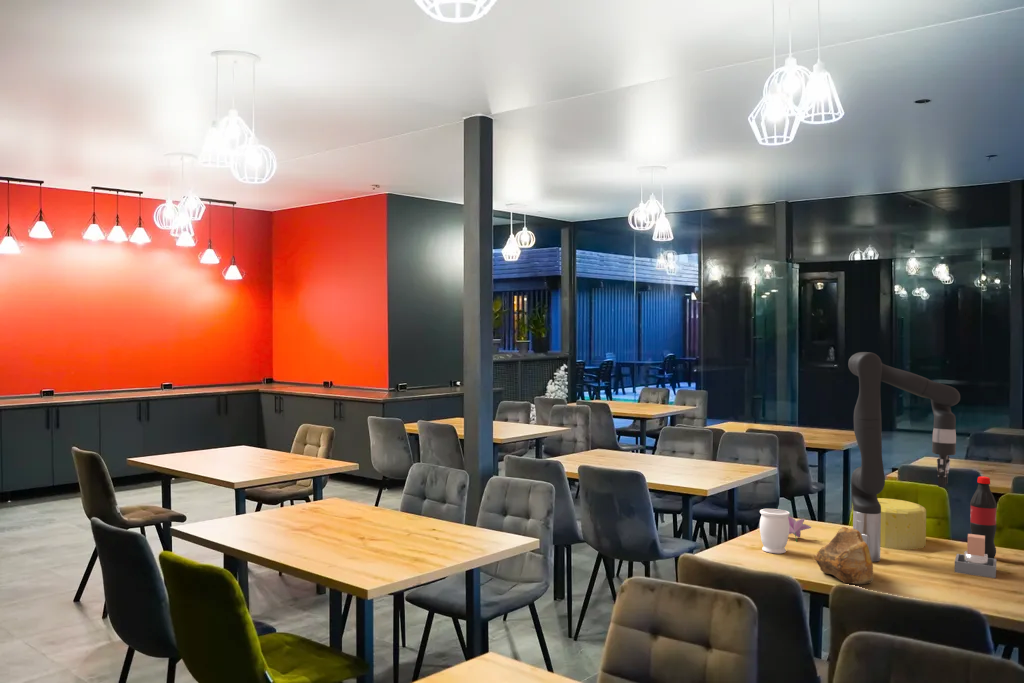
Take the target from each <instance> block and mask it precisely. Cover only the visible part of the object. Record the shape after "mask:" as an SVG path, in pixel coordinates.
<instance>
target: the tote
mask: <svg viewBox="0 0 1024 683" xmlns="http://www.w3.org/2000/svg"><path fill="white" fill-rule="evenodd" d="M954 573H957V574H965V575H971V576H976V577H977V576H978V577H983V578H990V579H997V558H994V559H993V558H988V564H987V565H981V564H974V563H967V562H964V553H962V554H961V553H956V555H955V559H954Z"/></svg>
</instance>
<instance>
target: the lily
mask: <svg viewBox="0 0 1024 683" xmlns="http://www.w3.org/2000/svg"><path fill="white" fill-rule="evenodd" d="M788 520H789V535H792V534H793V535H794V536H795V542H798V539H797V538H799V539H800V538H801V531H805V530H809V529H812V526H810V525H808V524H806V523H804V522H805V520H806V519H805V518H800V519H798V520H796V519H795V518H794V517H792V516H790V515H789V516H788Z"/></svg>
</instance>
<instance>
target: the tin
mask: <svg viewBox="0 0 1024 683" xmlns="http://www.w3.org/2000/svg"><path fill="white" fill-rule="evenodd" d="M963 555H964V562H967V563H974V564H981V565H987V564H988V555H987V554H986V553H985V554H984V556H978V555H971V554H967V550H965V551H964V552H963Z"/></svg>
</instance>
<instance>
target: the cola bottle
mask: <svg viewBox="0 0 1024 683" xmlns="http://www.w3.org/2000/svg"><path fill="white" fill-rule="evenodd" d="M990 485H991V478H990V477H988V476H983V475H982V476H978V477H977V488H976V490H975V492H974V493H973V495H972V498H971V500H970V501H969V502H970V516H969V518H970V522H969V527H970V534H975V535H983V536H985V553H986V554H987V555H988V558H993V559H995V558H996V555H997V547H996V545H995V537H996V536H995V535H996V531H997V502H996V499H995V497H994V494H993V492H992V491H991V487H990Z"/></svg>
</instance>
